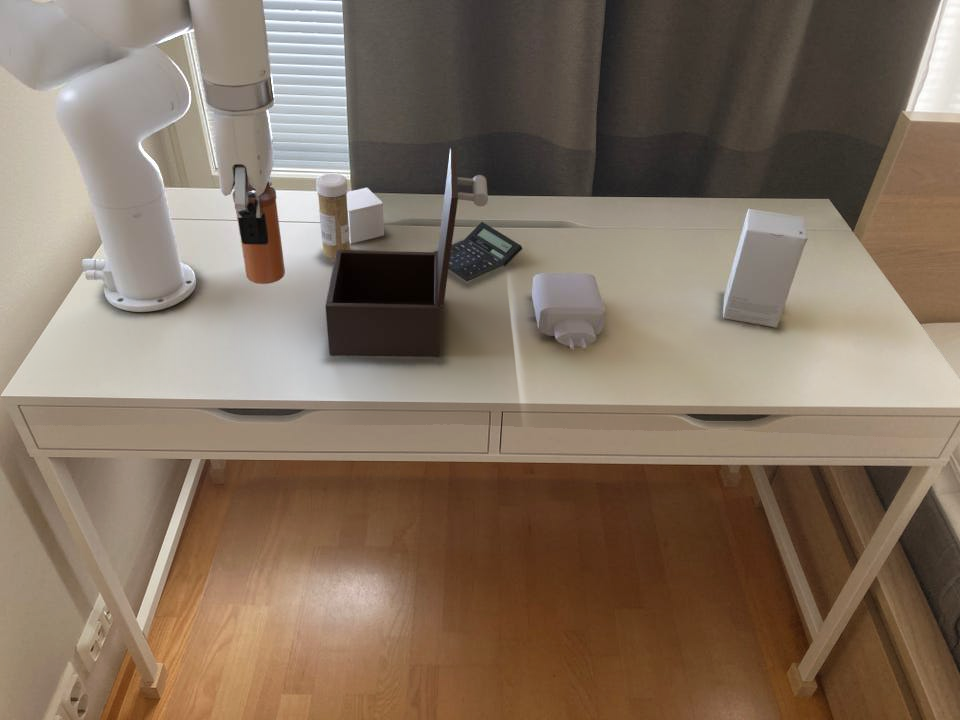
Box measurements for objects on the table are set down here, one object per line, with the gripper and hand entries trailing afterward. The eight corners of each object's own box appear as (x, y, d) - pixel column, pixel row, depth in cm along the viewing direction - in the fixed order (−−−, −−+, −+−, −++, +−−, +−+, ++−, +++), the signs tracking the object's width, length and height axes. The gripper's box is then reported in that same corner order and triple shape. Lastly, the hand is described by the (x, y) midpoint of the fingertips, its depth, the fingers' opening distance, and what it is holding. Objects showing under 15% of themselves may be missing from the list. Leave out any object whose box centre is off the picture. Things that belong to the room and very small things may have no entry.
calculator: (428, 258, 127) (428, 242, 125) (482, 236, 134) (483, 220, 132) (466, 285, 122) (467, 268, 120) (521, 260, 128) (522, 244, 126)
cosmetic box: (777, 306, 122) (808, 216, 112) (777, 331, 117) (810, 239, 107) (721, 295, 123) (748, 205, 114) (719, 319, 119) (747, 227, 109)
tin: (242, 284, 103) (228, 202, 96) (249, 262, 107) (236, 182, 100) (282, 285, 104) (272, 203, 96) (288, 263, 108) (278, 183, 100)
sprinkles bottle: (356, 259, 126) (352, 181, 118) (329, 266, 124) (323, 188, 115) (343, 246, 129) (338, 169, 120) (317, 253, 127) (310, 175, 118)
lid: (451, 197, 92) (492, 201, 93) (450, 147, 102) (487, 151, 103) (437, 305, 102) (474, 308, 102) (437, 249, 112) (471, 252, 113)
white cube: (335, 227, 133) (333, 194, 130) (368, 219, 136) (367, 187, 132) (350, 243, 130) (348, 210, 126) (384, 235, 132) (383, 202, 128)
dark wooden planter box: (329, 359, 107) (325, 306, 101) (339, 300, 117) (336, 249, 112) (439, 361, 108) (440, 308, 102) (439, 303, 118) (440, 252, 112)
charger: (542, 362, 109) (531, 298, 120) (609, 362, 109) (591, 299, 121) (546, 334, 106) (534, 272, 117) (614, 334, 106) (595, 273, 118)
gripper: (221, 63, 96) (242, 198, 108) (186, 119, 83) (214, 267, 95) (284, 65, 97) (298, 200, 108) (259, 122, 84) (278, 268, 95)
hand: (259, 230), depth 101 cm, fingers closed on tin, 5 cm apart
